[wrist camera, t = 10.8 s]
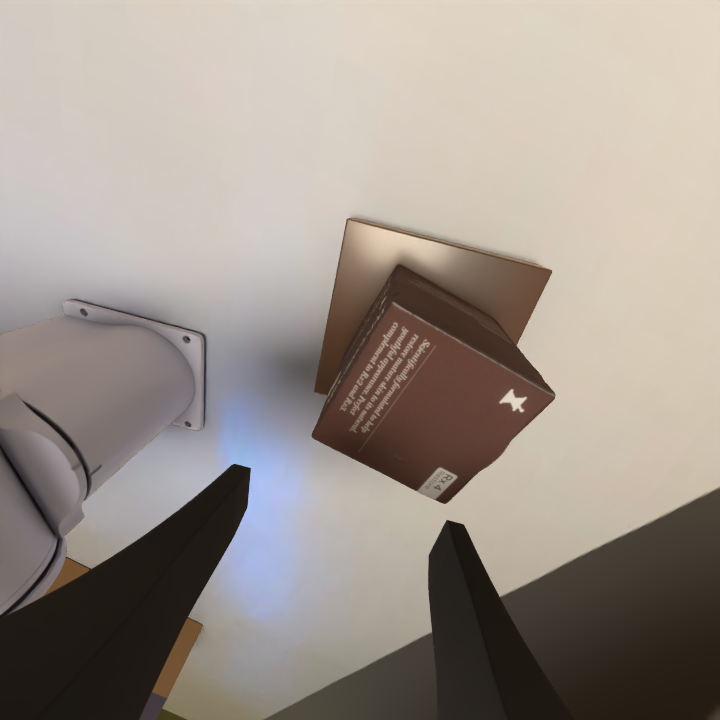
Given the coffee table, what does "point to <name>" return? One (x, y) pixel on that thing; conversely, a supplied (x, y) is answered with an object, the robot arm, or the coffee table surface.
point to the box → (429, 389)
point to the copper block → (432, 262)
